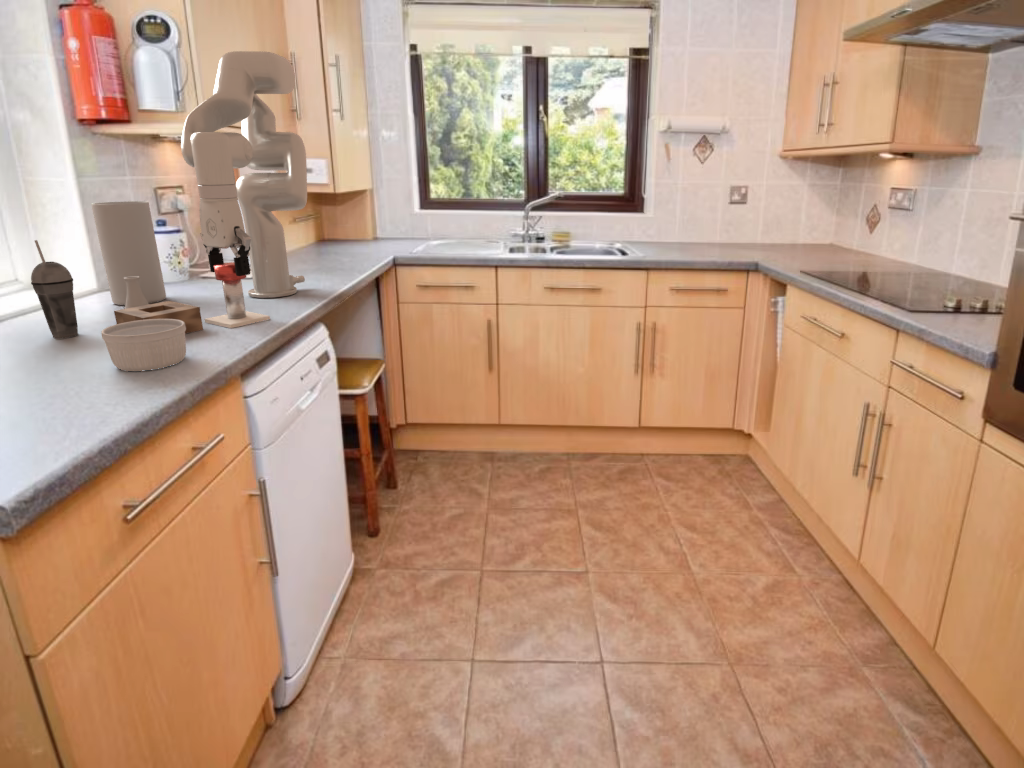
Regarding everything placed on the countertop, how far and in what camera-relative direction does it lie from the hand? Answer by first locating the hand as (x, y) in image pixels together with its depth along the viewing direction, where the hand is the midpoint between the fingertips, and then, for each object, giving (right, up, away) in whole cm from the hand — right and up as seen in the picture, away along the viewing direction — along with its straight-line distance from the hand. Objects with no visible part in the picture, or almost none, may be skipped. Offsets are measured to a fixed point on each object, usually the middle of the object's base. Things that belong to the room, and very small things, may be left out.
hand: (230, 273), depth 144 cm
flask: (-23, -10, +5) cm, 26 cm away
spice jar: (0, -9, +3) cm, 10 cm away
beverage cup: (-32, -15, -8) cm, 36 cm away
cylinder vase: (-35, -3, +26) cm, 43 cm away
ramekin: (-3, -21, -27) cm, 34 cm away
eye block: (-13, -13, -5) cm, 19 cm away
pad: (0, -10, +4) cm, 11 cm away
